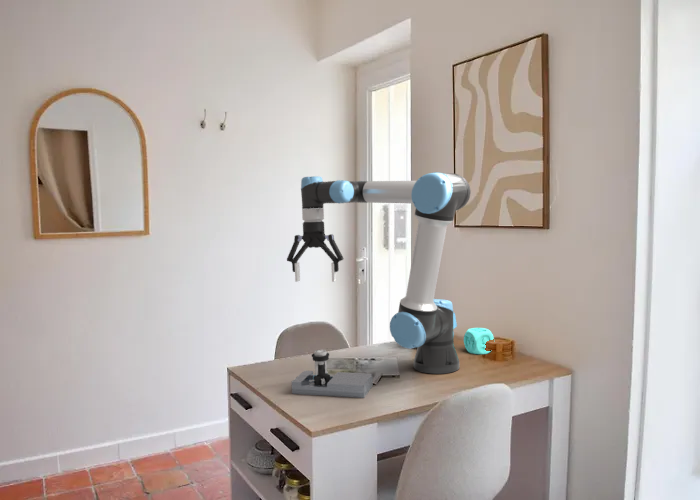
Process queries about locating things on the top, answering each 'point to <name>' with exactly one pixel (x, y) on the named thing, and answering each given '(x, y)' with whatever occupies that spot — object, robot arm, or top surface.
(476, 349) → the decorative dice
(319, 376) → the push button
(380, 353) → the top surface
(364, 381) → the grey recessed block
